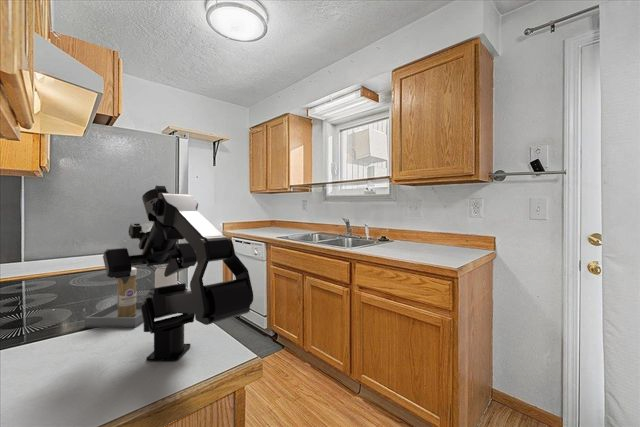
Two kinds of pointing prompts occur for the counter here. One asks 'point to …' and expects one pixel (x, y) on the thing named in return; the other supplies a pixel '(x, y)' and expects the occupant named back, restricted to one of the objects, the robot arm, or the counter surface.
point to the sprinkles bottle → (127, 296)
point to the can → (161, 279)
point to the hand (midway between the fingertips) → (145, 278)
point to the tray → (114, 318)
